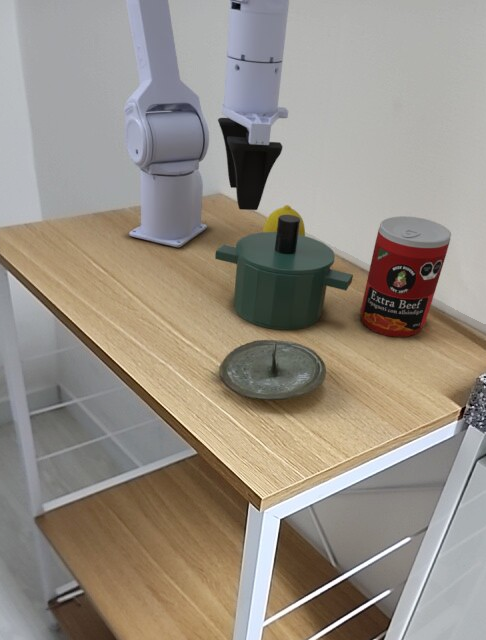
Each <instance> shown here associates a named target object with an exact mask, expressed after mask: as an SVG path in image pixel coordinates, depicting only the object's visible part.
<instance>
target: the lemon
mask: <svg viewBox="0 0 486 640" xmlns="http://www.w3.org/2000/svg"><path fill="white" fill-rule="evenodd" d="M281 215H293V216H296V217H298V218H300V226H299V233H298V235H302V236H306V230H305V222H304V219H303V218H302V216H301V214H300V213H299V212H298V211H296V209H293V208H291V206H290V205H289V204H288V205H286V204H285V205H283V207H280V208H277V209H275V210H274V211H272V212H271V213H270V214H269V215H268V217H267V218H266V221H265V223H264V226H263V228H262V229H263V230H262V233H263V232H277V226H278V218H279V216H281Z"/></svg>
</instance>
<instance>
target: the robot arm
mask: <svg viewBox="0 0 486 640" xmlns="http://www.w3.org/2000/svg"><path fill="white" fill-rule="evenodd" d="M125 5H126V10H127V16H128V22H129V27H130V35H131V39H132V45H133V50H134V56H135V63H136V68H137V73H138V79H139V86H138V87H137V88H136V90H134V92H133V93H132V94H131V95H130V96H129V98H128V99H127V101H126V102H125V104H124V106H123V114H124V124H125V128H124V140H125V147H126V151H127V154H128V156H129V158H130V160H131V161H132V163H133V164H134V165H135V166H136V167H138V168H139V176H140V177H139V178H140V179H139V180H140V181H139V183H140V225H139V226H137V227H135V228H134V229H132V230H130V231H129V232H128V235H129V237H132V238H136V239H140V240H144V241H149V242H153V243H156V244H160V245H165V246H170V247H174V248H181V247H183V246H184V245H185V244H187V243H188V242H190V241H191V240H192V239H193V238H195V237H196V236H198V235H199V234H201V233H202V232H203V231H205V230H206V229H207V228H208V225H207V224H205V223H202V215H203V214H202V213H203V195H204V194H203V189H204V185H203V184H204V182H203V177H202V174H201V172H200V162H202V161H203V160H204V159H205V158H206V155H207V153H208V150H209V147H210V131H209V127H208V123H207V121H206V119H205V117H204V113H203V109H202V106H201V101H200V96H199V95H198V94H197V93H196V92H195V91H194V90H193V89H191V88H190V87H189V86H188V85H187V84H186V83H184V81H182V79H181V76H180V70H179V63H178V56H177V50H176V45H175V44H176V43H175V37H174V32H173V23H172V17H171V12H170V5H169V0H125ZM289 7H290V0H229V16H228V29H227V48H226V49H227V50H226V64H225V66H226V67H225V80H224V81H225V82H224V96H223V97H224V98H223V103H222V105H221V114H222V115H223V116H224V117H219V118H218V119H217V122H218V124H219V128H220V130H221V133H222V139H223V141H224V146H225V154H226V164H227V175H228V181H229V186H230V188H231V189H236V190H235V191H236V201H237V206H238V209H239V210H241V211H242V210H245V211H257V210H258V208H259V207H260V203H261V200H262V198H263V194H264V190H265V188H266V184H267V181H268V178H269V175H270V173H271V171H272V169H273V166H274V165H275V164H276V162H277V160H278V159H279V157H280V156H281V153H282V151H283V144H282V143H281V142H278V141H270V140H271V131H272V127H273V125H274V124H275V123H276V122H277V121H278V119H288V118H289V110H288V108H286V107H284V106H283V107H282V106H279V98H280V91H281V90H280V89H281V81H282V71H283V61H284V53H285V52H284V51H285V43H286V42H285V41H286V34H287V33H286V32H287V23H288V15H289Z"/></svg>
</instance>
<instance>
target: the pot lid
mask: <svg viewBox="0 0 486 640" xmlns="http://www.w3.org/2000/svg"><path fill="white" fill-rule="evenodd" d="M299 226H300V218H298V217H296V216H293V215H281V216H279V218H278V226H277V232H263V231H262V232H257V233H252V234H248V235H245V236H243V237H241V238H240V239H239V240H238V241H237V242H236V244H235V247H236V254H237V256H238V257H239V258H240V259H241V260H242V261H244V262H245V263H247V264H249V265H251V266H253V267H256V268H258V269H261V270H265V271H269V272H274V273H280V274H290V275H304V274H313V273H318V272H321V271H324V270H326V269H328V268H330V269H331V268H332V266H333V265H334V262H335V259H336V258H335V257H336V256H335V252H334V250H333V249H332V248H331V247H330V246H328V245H327V244H325V243H324V242H322V241H320V240H318V239H315V238H312V237H309V236H306V235H305V236H302V235H298V233H299Z"/></svg>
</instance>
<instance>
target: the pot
mask: <svg viewBox="0 0 486 640" xmlns="http://www.w3.org/2000/svg"><path fill="white" fill-rule="evenodd" d="M214 256H215V257H214V259H215V260H218V261H222V262H227V263H230V264H235V265H236V271H235V281H234V294H233V309H234V311H235V313H236V314H237V315H238V317H240V318H241V319H243V320H245V322H248V323H250V324H252V325H255V326H257V327H261V328H265V329H271V330H278V331H279V330H280V331H281V330H282V331H294V330H301V329H305V328H309V327H310V326H313V325H314V324H316V323H318V322H319V320H320V318H321V316H322V314H323V309H324V304H325V297H326V292H327V288H328V287H329V288H334V289H338V290H342V291H347V290H348V289H349V287H350V286H351V285H352V283H353V278H354V274H353V273H348V272H344V271H339V270H335V269H331V267H330V268H328V269H326V270H324V271H321V272H318V273H313V274H304V275H290V274H280V273H274V272H269V271H265V270H261V269H258V268H256V267H253V266H251V265H249V264H247V263H245V262H244V261H242V260H241V259H240V258H239V257H238V256H237V254H236V246H232V245H228V244H222V245H220V247H218V248H217V249H216V250H215V255H214Z"/></svg>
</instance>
